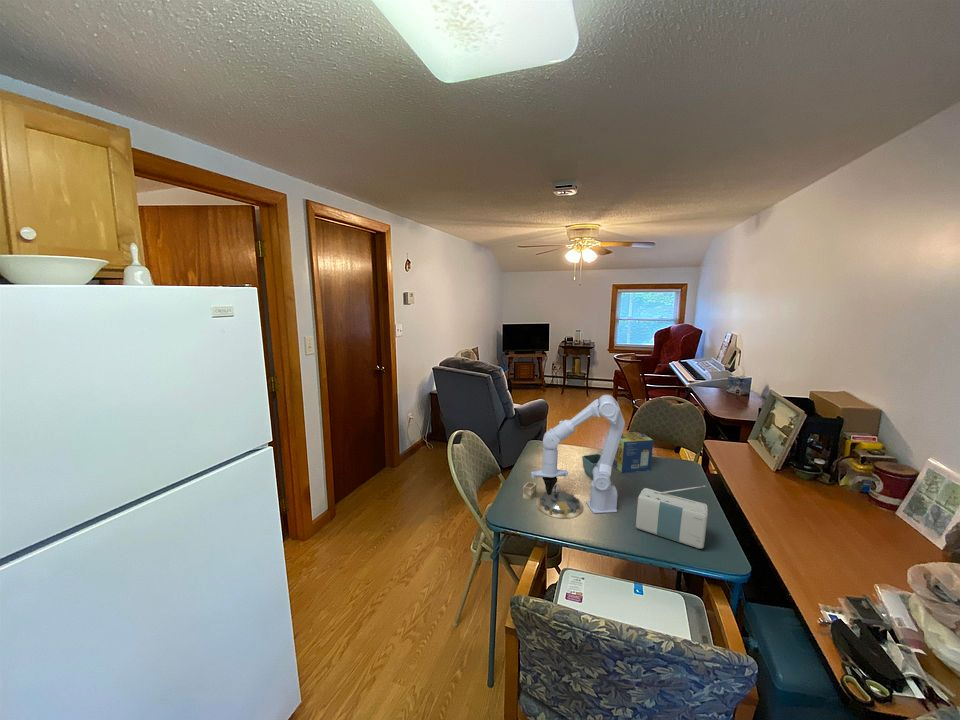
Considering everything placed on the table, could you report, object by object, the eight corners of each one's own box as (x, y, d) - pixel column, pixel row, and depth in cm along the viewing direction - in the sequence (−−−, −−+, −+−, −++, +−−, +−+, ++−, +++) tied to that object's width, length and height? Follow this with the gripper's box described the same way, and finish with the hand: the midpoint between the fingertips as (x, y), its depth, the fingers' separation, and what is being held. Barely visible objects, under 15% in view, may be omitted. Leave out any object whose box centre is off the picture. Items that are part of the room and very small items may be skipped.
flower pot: (591, 483, 170) (592, 463, 168) (580, 474, 178) (581, 455, 177) (608, 480, 172) (609, 461, 171) (597, 471, 181) (598, 453, 179)
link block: (536, 495, 160) (536, 483, 159) (530, 500, 156) (531, 488, 155) (528, 492, 162) (528, 481, 161) (522, 497, 158) (523, 486, 157)
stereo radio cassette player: (634, 530, 137) (639, 478, 133) (639, 519, 143) (644, 468, 140) (702, 553, 125) (709, 496, 122) (705, 539, 132) (711, 485, 128)
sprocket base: (573, 492, 162) (573, 486, 162) (590, 517, 144) (590, 510, 144) (531, 494, 160) (531, 488, 160) (543, 520, 142) (543, 513, 142)
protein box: (609, 463, 189) (611, 433, 186) (638, 461, 192) (640, 431, 189) (621, 473, 179) (623, 441, 176) (651, 470, 182) (654, 439, 179)
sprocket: (571, 492, 161) (572, 480, 160) (585, 513, 145) (586, 500, 144) (535, 494, 159) (535, 482, 158) (545, 516, 144) (546, 502, 143)
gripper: (564, 456, 158) (563, 487, 160) (529, 458, 156) (528, 489, 158) (570, 464, 151) (568, 496, 153) (533, 465, 149) (532, 498, 151)
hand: (548, 493), depth 155 cm, fingers closed
